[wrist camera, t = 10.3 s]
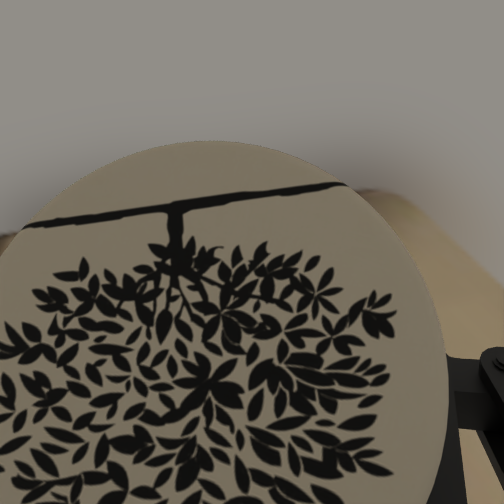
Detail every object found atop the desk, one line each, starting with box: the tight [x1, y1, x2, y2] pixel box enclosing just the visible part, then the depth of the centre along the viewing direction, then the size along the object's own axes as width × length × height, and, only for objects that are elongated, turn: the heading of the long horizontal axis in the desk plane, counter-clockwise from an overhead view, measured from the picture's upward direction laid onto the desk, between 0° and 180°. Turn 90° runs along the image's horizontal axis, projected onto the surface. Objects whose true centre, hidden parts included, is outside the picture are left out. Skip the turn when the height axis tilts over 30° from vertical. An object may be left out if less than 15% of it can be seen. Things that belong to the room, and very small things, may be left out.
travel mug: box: [0, 141, 449, 504], centre depth 14 cm, size 8×8×18 cm
